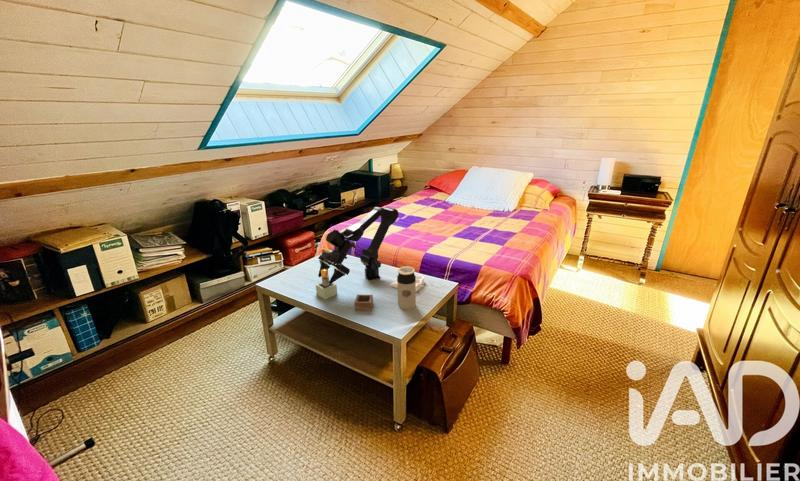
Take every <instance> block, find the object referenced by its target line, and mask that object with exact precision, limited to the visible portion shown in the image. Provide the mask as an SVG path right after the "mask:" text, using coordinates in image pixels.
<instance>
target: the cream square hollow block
mask: <svg viewBox="0 0 800 481" xmlns="http://www.w3.org/2000/svg"><path fill="white" fill-rule="evenodd" d="M329 285H330V286H329V287H327V288H323V285H322V282H320V283H317V284H315V290H316V295H317V296H319V297H320V298H321V299H323V300H327V299H330V298H331V297H334V296H336V295H338V286H337V284H336V283H334V282H333V283H331V284H330V283H329Z"/></svg>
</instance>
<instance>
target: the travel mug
mask: <svg viewBox="0 0 800 481" xmlns="http://www.w3.org/2000/svg"><path fill="white" fill-rule="evenodd" d="M415 272H416V269H415V268H414V267H412V266H401V267H399V268H398V269H397V273H398V274H397V276H396V277H397V278H396V280H397V287H398V288H397V306H398V307H399V308H400V309H401V310H402V309H403V310H411V309H413V308H416V303H417V302H416V299H417V297H416V293H417V292H416V277H415Z"/></svg>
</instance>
